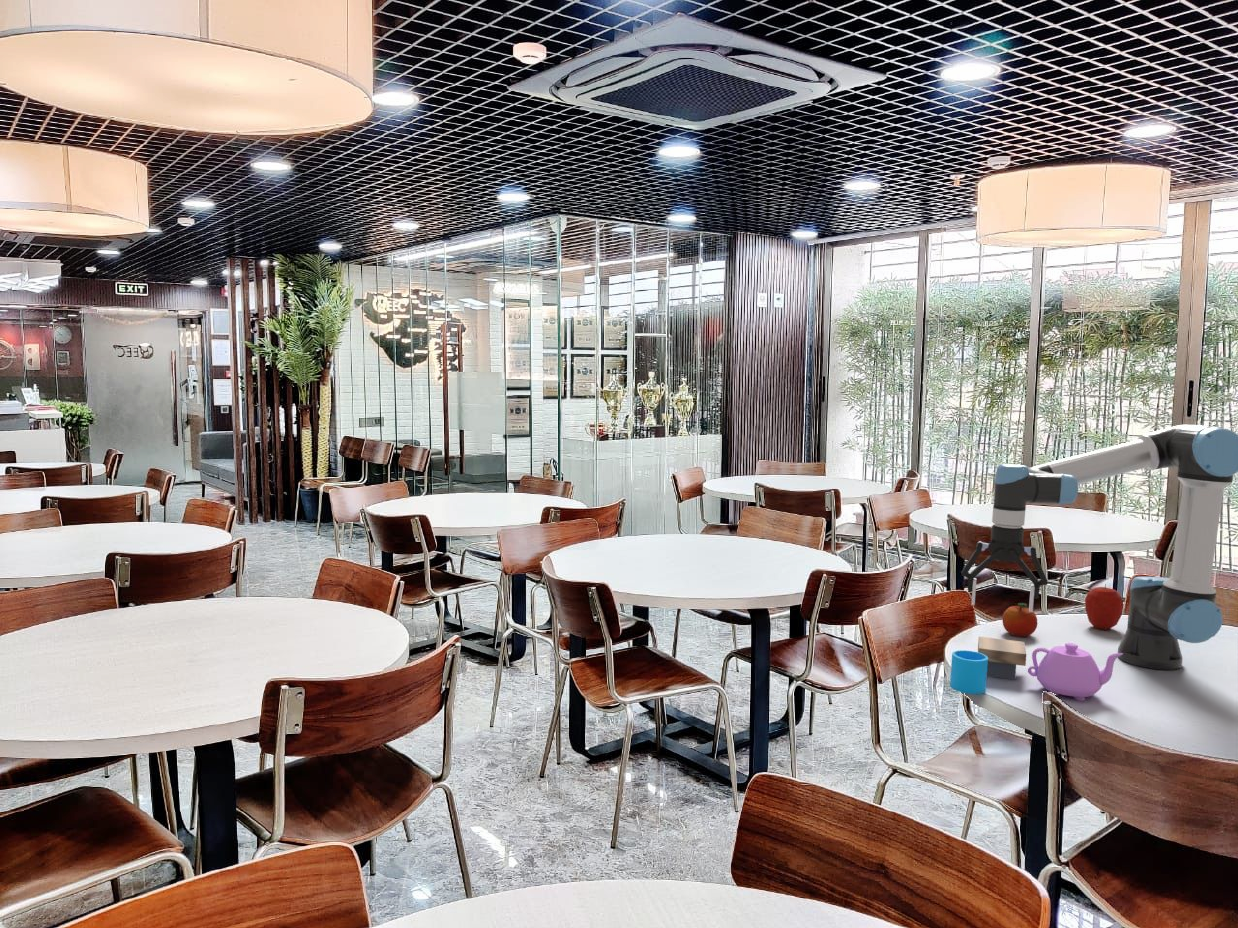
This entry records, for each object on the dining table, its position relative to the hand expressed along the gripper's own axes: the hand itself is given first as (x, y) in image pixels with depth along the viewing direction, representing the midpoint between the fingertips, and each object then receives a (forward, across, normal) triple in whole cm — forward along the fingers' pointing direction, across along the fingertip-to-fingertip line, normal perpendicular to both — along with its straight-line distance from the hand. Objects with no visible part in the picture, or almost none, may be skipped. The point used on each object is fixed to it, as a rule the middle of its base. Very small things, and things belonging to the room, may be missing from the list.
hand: (1001, 607), depth 230 cm
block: (+12, -1, +1) cm, 13 cm away
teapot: (+17, -17, +9) cm, 26 cm away
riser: (+17, -1, +1) cm, 17 cm away
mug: (+17, +7, +14) cm, 23 cm away
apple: (+17, -30, -58) cm, 68 cm away
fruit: (+17, -6, -39) cm, 43 cm away
